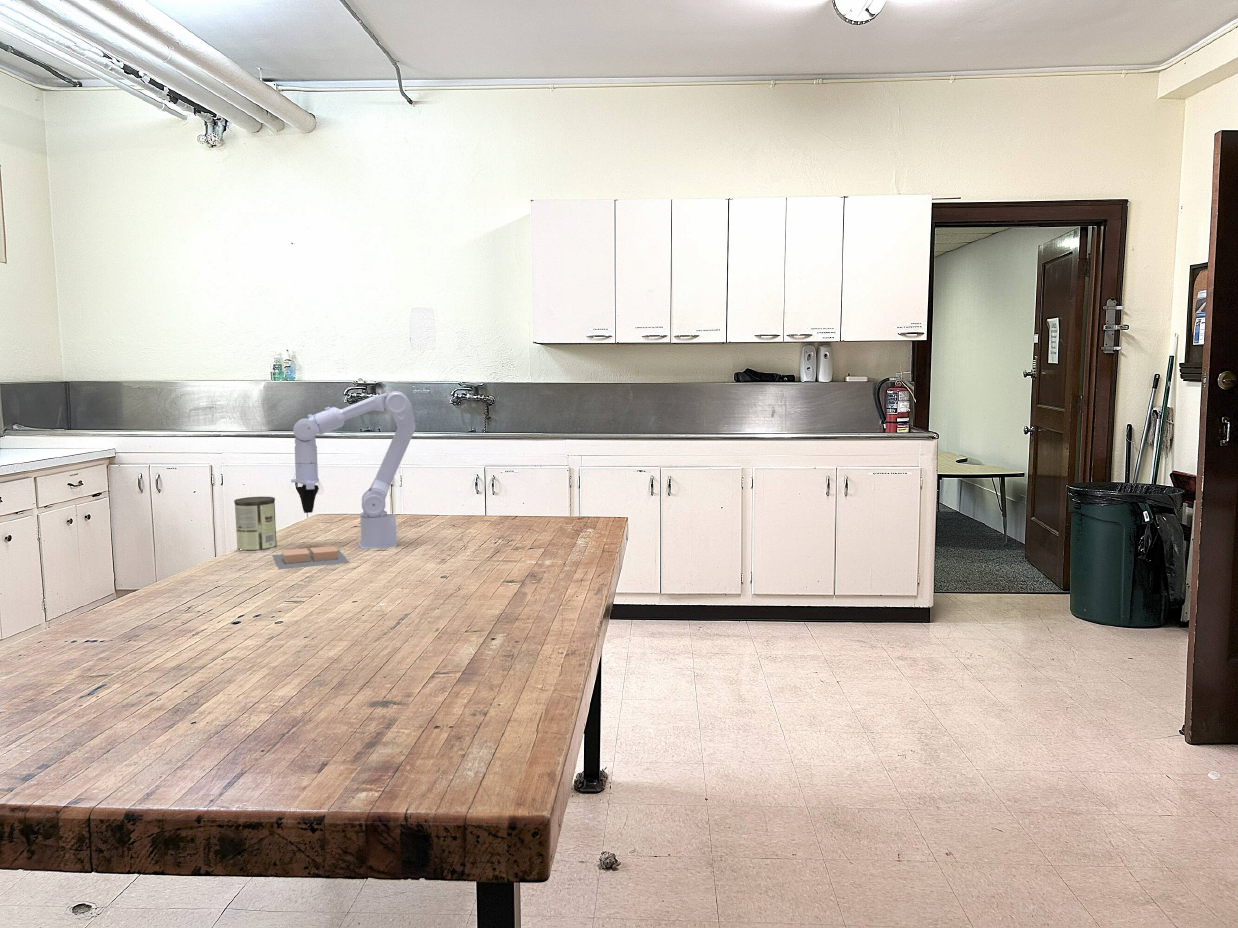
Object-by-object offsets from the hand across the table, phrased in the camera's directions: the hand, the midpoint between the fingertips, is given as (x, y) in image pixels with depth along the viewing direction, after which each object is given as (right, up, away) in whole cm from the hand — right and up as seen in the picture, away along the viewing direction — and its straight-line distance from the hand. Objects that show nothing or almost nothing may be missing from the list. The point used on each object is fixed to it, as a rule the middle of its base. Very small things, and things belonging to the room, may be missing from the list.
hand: (308, 512), depth 241 cm
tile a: (+6, -10, -8) cm, 14 cm away
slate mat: (+5, -12, -12) cm, 18 cm away
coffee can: (-14, -11, +1) cm, 18 cm away
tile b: (0, -10, -11) cm, 15 cm away
